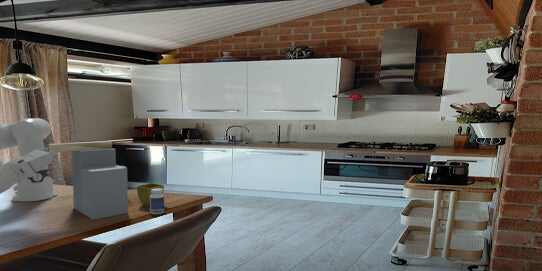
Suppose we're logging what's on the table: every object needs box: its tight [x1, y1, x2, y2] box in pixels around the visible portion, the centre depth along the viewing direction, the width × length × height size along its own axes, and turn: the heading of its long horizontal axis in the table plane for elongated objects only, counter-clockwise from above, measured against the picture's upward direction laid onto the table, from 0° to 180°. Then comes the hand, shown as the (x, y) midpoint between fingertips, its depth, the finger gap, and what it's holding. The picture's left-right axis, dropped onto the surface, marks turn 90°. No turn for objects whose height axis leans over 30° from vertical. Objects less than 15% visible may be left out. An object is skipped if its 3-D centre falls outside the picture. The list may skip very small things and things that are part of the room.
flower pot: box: [136, 182, 165, 207], centre depth 165 cm, size 9×9×9 cm
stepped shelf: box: [71, 147, 129, 220], centre depth 155 cm, size 24×14×26 cm, turn 44°
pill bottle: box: [149, 188, 165, 215], centre depth 152 cm, size 6×6×10 cm
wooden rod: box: [47, 140, 113, 153], centre depth 155 cm, size 4×24×3 cm, turn 134°
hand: (56, 147), depth 148 cm, fingers open, 8 cm apart
